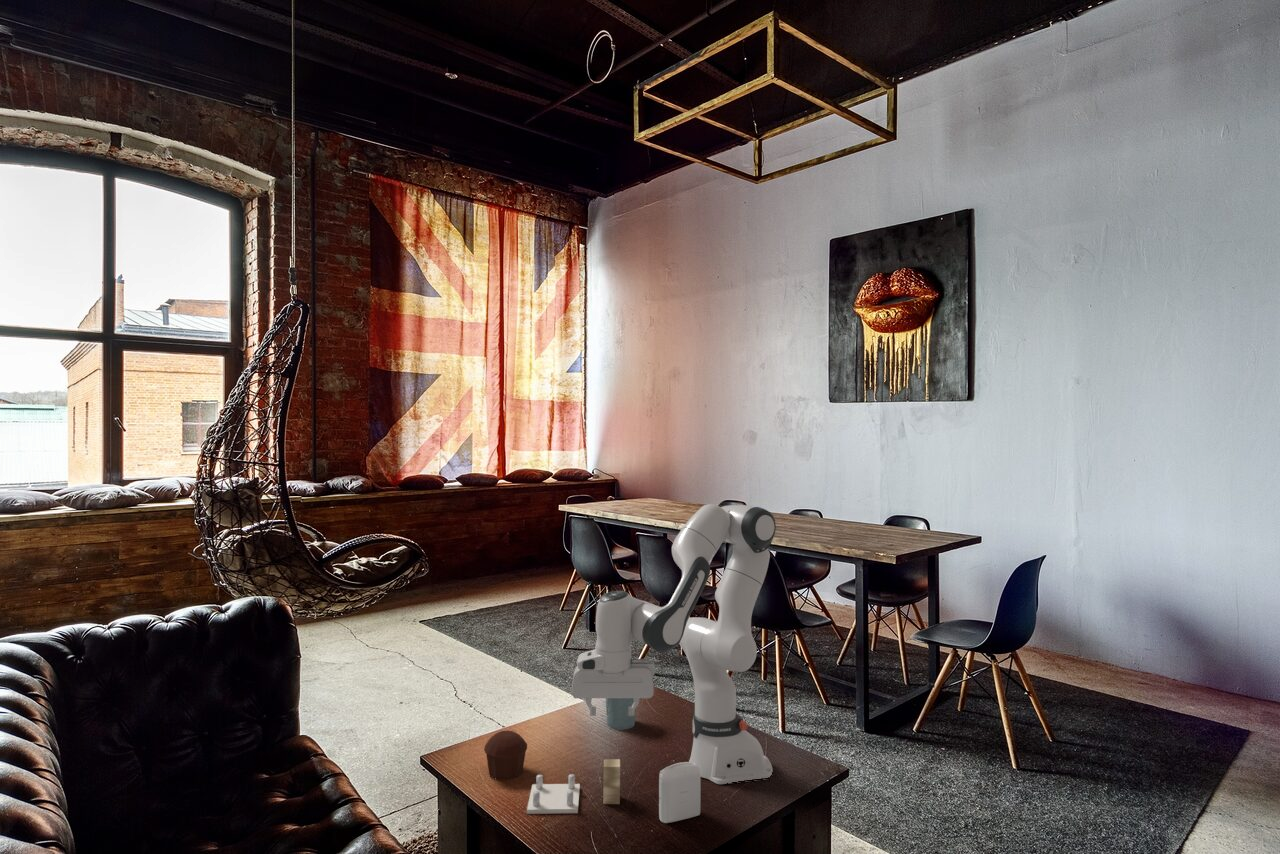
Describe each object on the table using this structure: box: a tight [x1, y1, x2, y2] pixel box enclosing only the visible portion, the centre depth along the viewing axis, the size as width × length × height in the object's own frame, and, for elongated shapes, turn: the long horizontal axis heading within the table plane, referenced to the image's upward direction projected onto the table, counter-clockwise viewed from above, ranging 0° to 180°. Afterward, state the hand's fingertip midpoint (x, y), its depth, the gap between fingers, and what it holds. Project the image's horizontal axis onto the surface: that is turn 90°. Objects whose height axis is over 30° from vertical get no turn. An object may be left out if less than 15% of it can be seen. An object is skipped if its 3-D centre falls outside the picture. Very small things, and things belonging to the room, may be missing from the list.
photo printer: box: [658, 761, 702, 824], centre depth 166 cm, size 10×4×12 cm, turn 114°
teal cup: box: [605, 698, 637, 731], centre depth 218 cm, size 10×10×12 cm
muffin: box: [483, 730, 528, 781], centre depth 187 cm, size 12×11×10 cm
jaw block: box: [602, 758, 621, 805], centre depth 173 cm, size 4×4×9 cm
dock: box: [526, 773, 581, 815], centre depth 173 cm, size 12×12×4 cm
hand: (612, 715), depth 173 cm, fingers open, 8 cm apart
